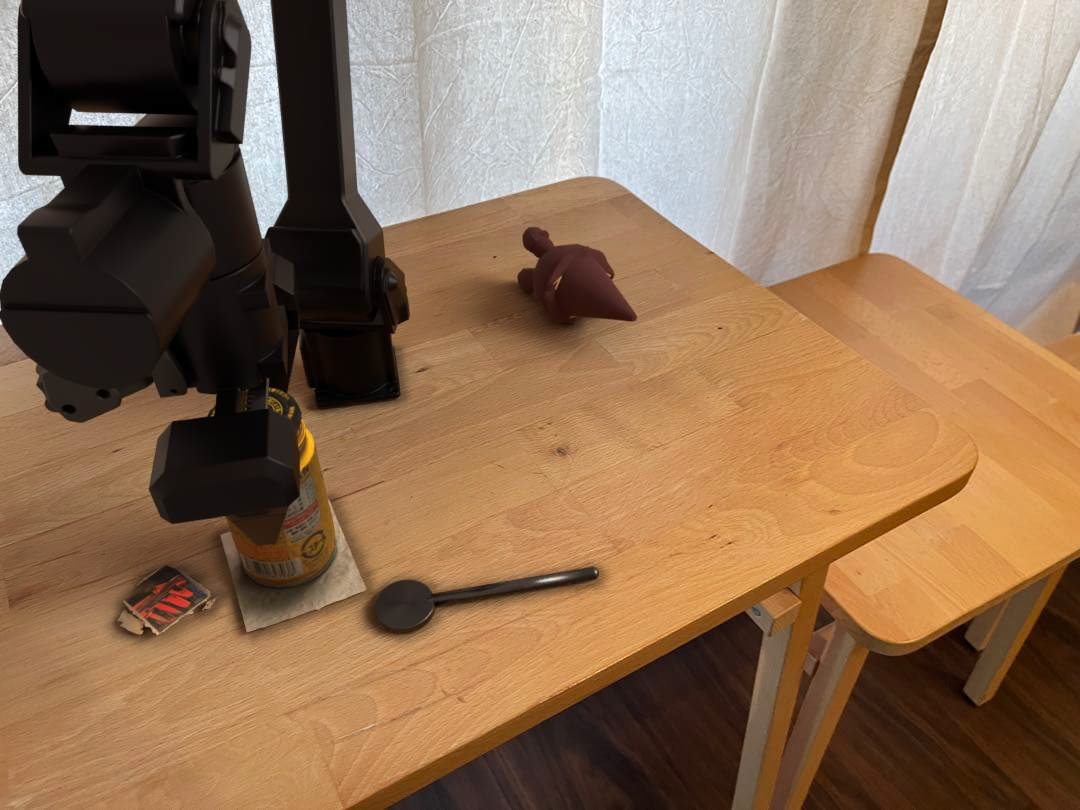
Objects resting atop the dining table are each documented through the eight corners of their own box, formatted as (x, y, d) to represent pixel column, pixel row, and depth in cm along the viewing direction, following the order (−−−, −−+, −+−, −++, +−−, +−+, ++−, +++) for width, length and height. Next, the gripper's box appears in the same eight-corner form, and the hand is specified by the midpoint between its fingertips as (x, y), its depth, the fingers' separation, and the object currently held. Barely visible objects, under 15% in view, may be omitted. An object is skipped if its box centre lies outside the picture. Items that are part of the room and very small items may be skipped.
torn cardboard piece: (160, 563, 56) (158, 559, 56) (225, 591, 54) (223, 586, 54) (105, 620, 53) (103, 615, 52) (172, 650, 51) (170, 646, 51)
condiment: (329, 501, 60) (297, 363, 52) (367, 591, 54) (337, 451, 47) (221, 537, 58) (170, 397, 50) (248, 635, 52) (195, 495, 44)
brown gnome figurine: (677, 272, 70) (560, 214, 80) (609, 281, 66) (494, 219, 76) (659, 350, 73) (549, 286, 83) (592, 364, 69) (485, 294, 79)
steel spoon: (591, 554, 57) (592, 546, 56) (606, 599, 54) (606, 591, 53) (373, 590, 54) (372, 582, 54) (377, 639, 52) (376, 630, 51)
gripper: (58, 178, 47) (145, 400, 57) (-43, 401, 33) (96, 641, 43) (272, 158, 49) (319, 377, 59) (261, 363, 35) (326, 603, 45)
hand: (268, 483), depth 51 cm, fingers open, 9 cm apart
